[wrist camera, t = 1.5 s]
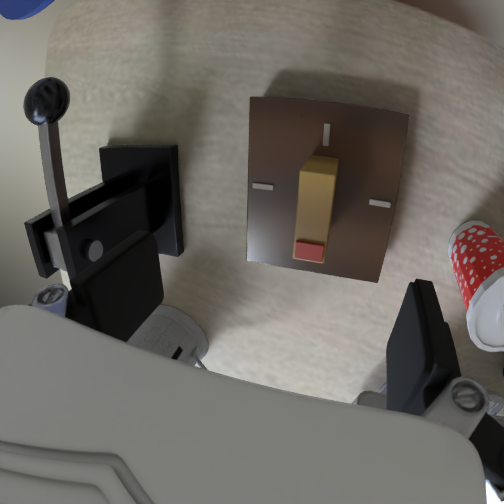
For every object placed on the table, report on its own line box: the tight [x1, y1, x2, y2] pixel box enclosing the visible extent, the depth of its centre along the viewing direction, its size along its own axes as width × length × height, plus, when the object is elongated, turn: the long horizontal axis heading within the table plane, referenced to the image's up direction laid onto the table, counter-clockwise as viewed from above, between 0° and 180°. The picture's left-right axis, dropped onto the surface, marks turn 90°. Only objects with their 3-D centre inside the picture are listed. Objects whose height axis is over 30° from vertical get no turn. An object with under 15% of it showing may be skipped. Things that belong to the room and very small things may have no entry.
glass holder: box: [126, 305, 208, 370], centre depth 28 cm, size 9×14×15 cm, turn 102°
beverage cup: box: [448, 220, 504, 352], centre depth 15 cm, size 6×6×14 cm
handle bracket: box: [24, 145, 184, 280], centre depth 23 cm, size 10×8×12 cm
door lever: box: [24, 77, 72, 271], centre depth 17 cm, size 13×3×3 cm, turn 179°
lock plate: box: [246, 97, 409, 283], centre depth 21 cm, size 12×10×3 cm
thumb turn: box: [293, 155, 339, 263], centre depth 18 cm, size 5×2×5 cm, turn 179°
